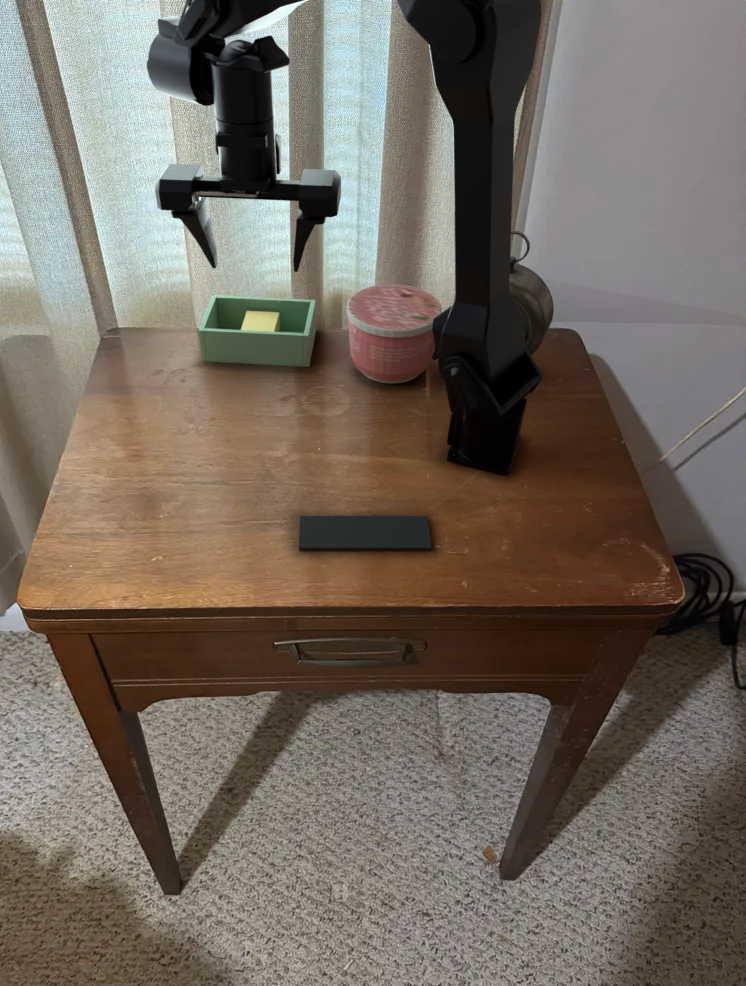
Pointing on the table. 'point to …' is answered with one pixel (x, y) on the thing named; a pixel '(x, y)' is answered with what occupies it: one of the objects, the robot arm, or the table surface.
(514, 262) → the alarm clock
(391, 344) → the container
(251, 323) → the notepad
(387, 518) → the desk mat
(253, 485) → the table surface
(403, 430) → the table surface
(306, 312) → the storage box
